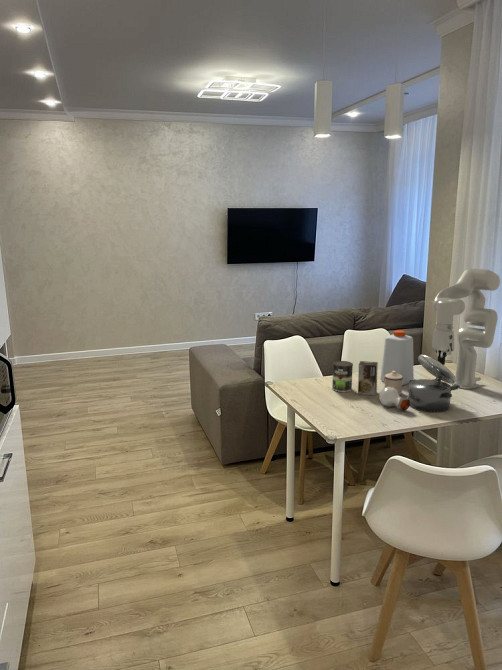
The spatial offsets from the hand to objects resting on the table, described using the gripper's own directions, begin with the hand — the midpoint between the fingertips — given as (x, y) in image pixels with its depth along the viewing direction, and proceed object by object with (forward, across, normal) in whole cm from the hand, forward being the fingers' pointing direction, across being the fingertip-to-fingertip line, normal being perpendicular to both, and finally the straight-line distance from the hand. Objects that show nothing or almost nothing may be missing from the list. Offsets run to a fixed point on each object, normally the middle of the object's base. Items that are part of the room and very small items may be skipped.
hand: (440, 364), depth 250 cm
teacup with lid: (+20, +23, +10) cm, 32 cm away
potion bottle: (+20, +5, +22) cm, 30 cm away
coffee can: (+20, +38, +29) cm, 52 cm away
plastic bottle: (+20, +37, -6) cm, 42 cm away
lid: (+2, 0, +3) cm, 4 cm away
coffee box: (+20, +27, +21) cm, 40 cm away
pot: (+20, 0, +6) cm, 20 cm away
